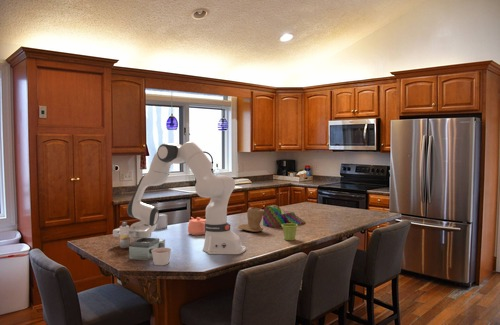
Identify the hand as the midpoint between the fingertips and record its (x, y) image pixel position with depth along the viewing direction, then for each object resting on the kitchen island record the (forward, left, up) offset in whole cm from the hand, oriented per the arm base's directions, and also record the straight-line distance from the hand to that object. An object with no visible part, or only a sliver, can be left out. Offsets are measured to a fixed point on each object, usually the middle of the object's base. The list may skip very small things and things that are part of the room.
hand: (123, 235), depth 209 cm
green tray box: (-17, +6, -7) cm, 20 cm away
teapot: (-24, -45, -8) cm, 51 cm away
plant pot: (-82, -42, -8) cm, 92 cm away
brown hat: (-55, -61, -8) cm, 82 cm away
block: (-71, -86, -8) cm, 112 cm away
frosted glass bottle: (0, -1, -6) cm, 6 cm away
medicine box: (+7, -56, -8) cm, 57 cm away
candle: (-31, +18, -8) cm, 37 cm away
